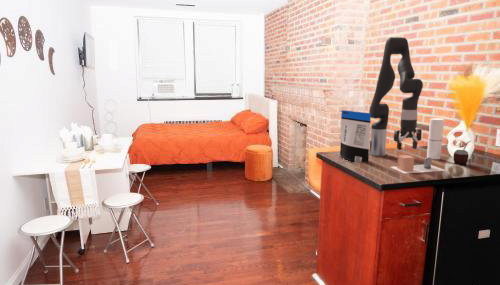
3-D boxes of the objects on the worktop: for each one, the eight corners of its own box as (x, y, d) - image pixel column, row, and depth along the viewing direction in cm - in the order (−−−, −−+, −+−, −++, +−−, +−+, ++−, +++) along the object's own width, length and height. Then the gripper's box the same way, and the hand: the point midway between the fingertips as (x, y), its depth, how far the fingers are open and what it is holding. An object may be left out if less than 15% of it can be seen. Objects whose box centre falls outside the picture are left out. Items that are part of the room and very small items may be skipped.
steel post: (426, 168, 172) (427, 158, 171) (422, 167, 175) (423, 157, 174) (432, 168, 173) (433, 158, 172) (427, 166, 176) (428, 157, 175)
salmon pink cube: (403, 171, 169) (404, 158, 168) (397, 168, 174) (398, 155, 173) (413, 170, 170) (414, 157, 168) (406, 167, 175) (407, 155, 174)
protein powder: (362, 165, 186) (364, 113, 181) (334, 157, 208) (335, 110, 202) (374, 163, 190) (377, 112, 184) (345, 155, 212) (347, 109, 206)
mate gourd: (453, 162, 190) (456, 137, 187) (469, 164, 185) (472, 138, 182) (451, 165, 184) (454, 139, 181) (468, 167, 179) (471, 140, 176)
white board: (403, 176, 165) (403, 173, 165) (389, 169, 178) (389, 166, 178) (445, 173, 169) (446, 170, 169) (428, 166, 181) (429, 164, 181)
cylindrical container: (425, 160, 195) (428, 119, 190) (428, 158, 200) (431, 118, 195) (438, 162, 190) (442, 120, 185) (441, 159, 195) (445, 118, 190)
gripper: (416, 117, 172) (414, 147, 175) (391, 118, 169) (390, 148, 172) (426, 118, 164) (423, 149, 167) (400, 119, 162) (398, 151, 165)
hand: (406, 149), depth 170 cm, fingers open, 8 cm apart
